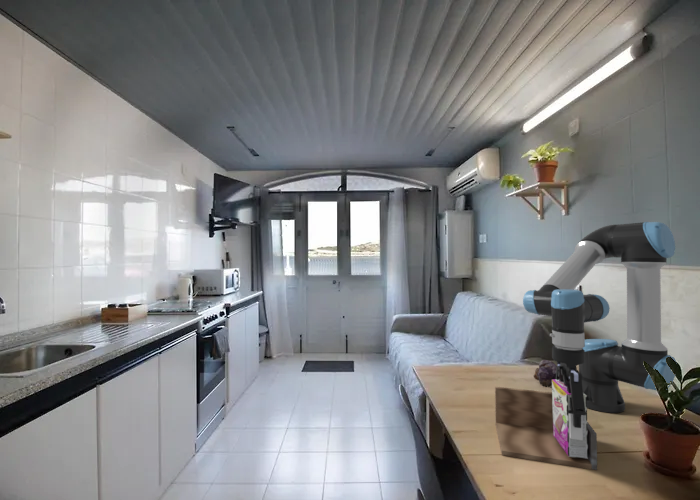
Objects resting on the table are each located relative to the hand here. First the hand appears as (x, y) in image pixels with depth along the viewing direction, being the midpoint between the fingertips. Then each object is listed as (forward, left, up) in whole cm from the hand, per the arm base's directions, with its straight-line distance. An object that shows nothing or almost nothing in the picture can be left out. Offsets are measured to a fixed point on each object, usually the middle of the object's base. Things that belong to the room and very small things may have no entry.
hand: (569, 427), depth 94 cm
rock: (-7, -58, -7) cm, 59 cm away
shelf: (+7, -3, -7) cm, 10 cm away
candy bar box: (0, 0, -5) cm, 5 cm away
